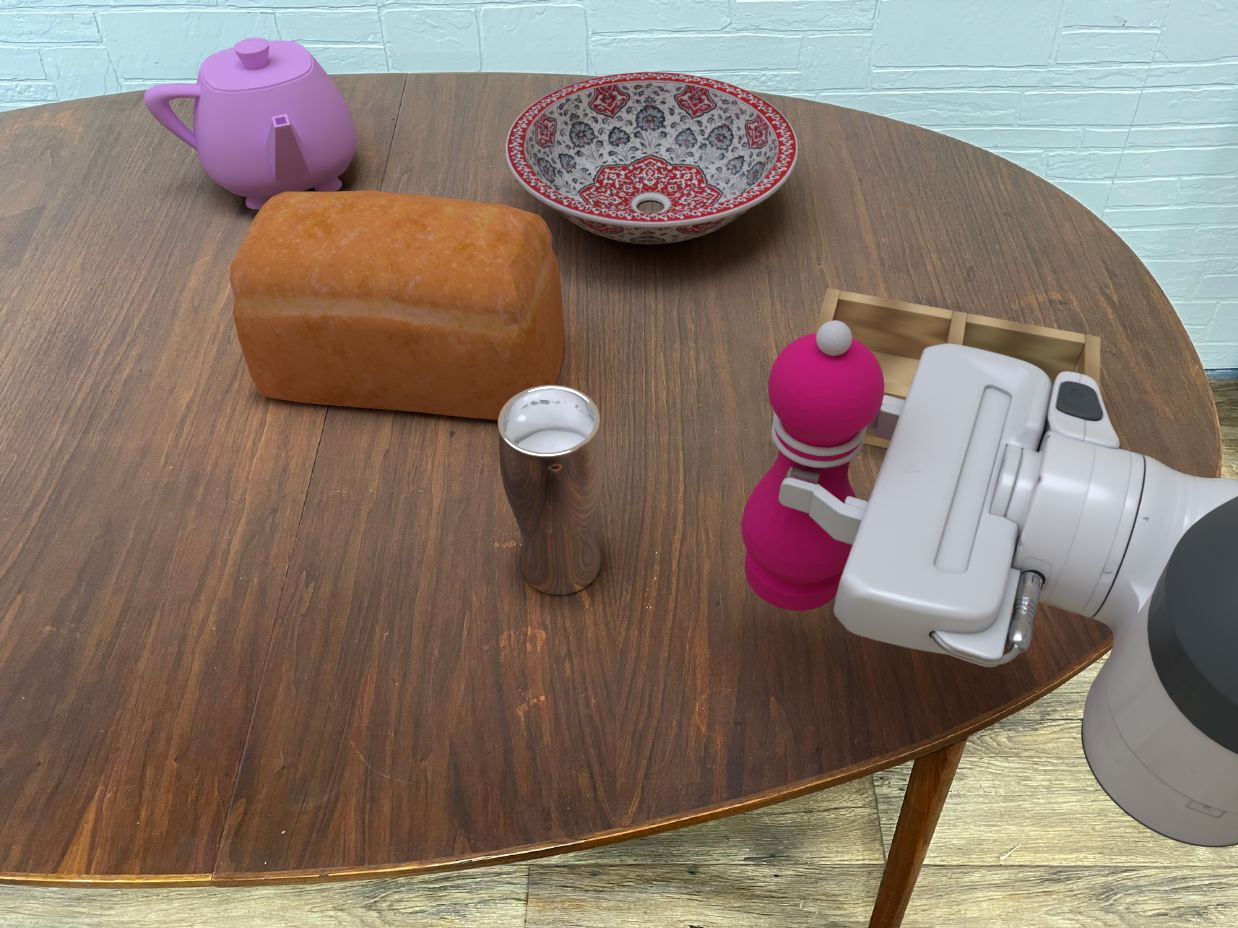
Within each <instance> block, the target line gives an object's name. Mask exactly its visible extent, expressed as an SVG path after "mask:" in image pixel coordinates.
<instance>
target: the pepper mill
mask: <svg viewBox="0 0 1238 928" xmlns="http://www.w3.org/2000/svg"><path fill="white" fill-rule="evenodd" d="M767 394H768V399H769V403H770V405H771V408H772V410H773V411H774V412H773V418H772V421H773V422H772V425H771V437H772V440H773V443H774V445H775V446H776V448H777V449H778V451H777V456H776V459H775V461H774V463H773V465H772V466H771V467H770V469H769V470H768V471H767V472H766V473H765V474H764V475H763V477H762V478H761V479H760V480H759V481H758V482H757V484H756V485H755V487H754V488H753V489H752V491H751V493H750V495H749V497H748V498H747V500H746V504H745V507H744V509H743V514H742V518H741V523H740V529H741V537H742V542H743V545H744V546H745V548H746V550H745V559H744V573H745V579H746V581H747V583H748V584H749V587H750V588H751V590H753V592H754V593H755V594H756V595H757V597H759V598H760V599H761V600H763V601H764V602H765V603H767V604H769V605H771V606H774V607H777V608H779V609H781V610H788V611H793V612H804V611H811V610H816V609H820V608H822V607H823V606H825V605H827V604H829V603H830V602H831V601H833V600H835V599H836V594H837V591H838V587H839V583H840V579H841V576H842V573H843V570H844V568H845V565H846V562H847V559H848V557H849V554H850V551H851V548H852V545H851V544H848V543H844V542H841V541H838V540H835V539H833V538H832V537H831V536H830V535H829V534H828V533H827V532H826V531H825V530H824V529H823V528H822V527H821V526H820V525H819V524H818V523H817V522H816V521H814V520H813V519H812V518H811V517H810V516H809V513H806V512H803V511H800V510H796V509H793V508H790V507H787V506H784V505H782V504H781V503H780V502H779V493H780V486H781V484H782V482H783V479H784V477H785V475H786V473H787V471H788V469H789V468H790V467H792V466H797V467H801V468H802V469H803V470H811V471H815V472H818V473H821V474H820V479H819V485H820V486H821V487H823V488H824V489H825V490H827V491H828V492H829V493H831V494H832V495H833V496H835V497H836V498H837V499H839V500H840V501H841V502H842V503H845V500H846V497H848V496H851V497H854V498H857V495H856V493H855V491H854V489H853V487H852V485H851V482H850V479H849V469H850V463H851V461H852V460H853V459H855V458H856V457H857V456H858V455H859V453H860V452H861V451H862V448H863V446H864V444H863V443H864V436H865V433H866V428H867V426H868V425H869V424H870V423H871V422H872V421H873V419H874V418H875V417H876V415H877V413H878V411H879V410H880V408H881V405H882V401H883V397H884V377H883V372H882V369H881V366H880V364H879V362H878V360H877V358H876V357H875V355H874V354H873V353H872V352H871V351H870V350H869V348H868V347H866V346H865V345H864V344H863V343H861V342H860V341H858V340H856V339H854V338H852V333H851V330H850V328H849V327H848V326H847V325H846V324H845V323H843V322H841V321H837V320H833V321H828V322H826V323H825V324H823V325H822V326H821V327H820V328H819V330H818V332H817V333H814V332H813V333H808V334H805V335H802V336H800V337H797V338H796V339H794V340H792V341H791V342H790V343H788V344H787V345H786V346H785V347H784V348H783V349H782V350H781V351H780V352H779V354H778V356H777V357H776V359H775V360H774V362H773V365H772V367H771V370H770V373H769V376H768V382H767Z"/></svg>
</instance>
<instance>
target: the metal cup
mask: <svg viewBox="0 0 1238 928" xmlns="http://www.w3.org/2000/svg"><path fill="white" fill-rule="evenodd" d="M497 428H498V456H499V457H498V458H499V469H500V474H501V479H502V480H501V481H502V486H503V489H504V493H505V495H506V498H507V501H508V504H509V506H510V509H511V512H512V514H513V517H514V519H515V521H516V524H517V527H518V529H519V532H520V536H521V541H522V543H521V544H522V545H521V550H520V556H519V570H520V573H521V575H522V577H523V579H524V580H525V582H526V583H527V584H528V585H529V586H530V587H531V588H532V589H535V590H536V591H538V592H541V593H543V594H547V595H551V596H552V595H553V596H567V595H571V594H575V593H577V592H579V591H582V590H584V589H585V588H587V587H588V586H590V584H592V583H593V581H594V580H595V579H596V578H597V576H598V575H599V573H600V570H601V567H602V554H601V550H600V546H599V543H598V541H597V537H596V531H595V530H596V522H597V517H598V513H599V508H600V505H601V500H602V496H603V490H604V482H605V449H604V442H603V441H604V440H603V434H602V427H601V415H600V411H599V408H598V406H597V404H596V403H595V402H594V400H592V399H591V398H590V397H589V395H587V394H586V393H584V392H582V391H580V390H579V389H575V388H573V387H571V386H566V385H559V384H556V385H543V386H537V387H533V388H529V389H527V390H524V391H522V392H520V393H518V394H516V395H515V396H513V397H512V398H511V399H510V400H509V401H508V402H507V403H506V404H505V405H504V406H503V408H502V409H501V411H500V414H499V417H498V420H497Z"/></svg>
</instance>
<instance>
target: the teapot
mask: <svg viewBox="0 0 1238 928" xmlns="http://www.w3.org/2000/svg"><path fill="white" fill-rule="evenodd" d="M184 98H185V99H187V98H188V99H193V104H192V131H193V132H192V131H191V129H189V127H187V126H186V125H185V124H184V122H182V121H181V119H180V118H179V117H178V115H176V113H175V112H174V110H173V108H171V105H170V101H172V100H176V99H184ZM143 102H144V103H145V106H146V108H147V110H148V111H149V113H150V114H151V116H152V117H153V118H154V119H155V120H156V121H157V122H158V123H159V124H160V125H161V126H162V127H164V128H165V129H166V130H167V131H169V132H170V133H171V134H173V135H174V136H175V137H177V138H178V139H180V140H181V141H182V142H184V143H185V144H186V145H188V146H189V147H191V148H192V149H194V150H195V151H196V153H197V156H198V160H199V162H200V165H201V166H202V168H203V169H204V171H205V172H206V173H207V175H208V176H209V177H210V178H211V180H213V181H214V182H215V183H216V184H218V185H219V186H220V187H221V188H223V189H224V190H226V191H228V192H229V193H231V194H233V195H236V196H239V197H246V199H245V206H246V207H247V208H249V209H251V210H260V209H261V208H262V206H263V205H264V204H265V203H266V202H267V201H268V200H269V199H270V198H271V197H273V196H276V195H278V194H280V193H282V192H304V191H307V190H310V189H313V190H314V191H315V192H338V191H339V190H340V189H341V188H342V186H343V183H342V180H341V179H339V176H341V175H342V174H343V173H344V172H345V171H346V170H347V169H348V167H349V166H350V164H351V162H352V160H353V158H354V156H355V153H356V150H357V147H358V136H357V130H356V127H355V123H354V122H355V121H354V120H353V117H352V114H351V112H350V110H349V107H348V105H347V103H346V101H345V98H344V96H343V95H342V93H341V92H340V89H339V88H338V87H337V85H336V83H335V82H334V80H332V78H331V77H330V75H329V74H328V72H327V71H326V70H325V69H324V68H323V66H322V65H321V64H320V63H319V62H318V60H317V59H316V58H315V56H314V55H312V54H311V52H310V51H309V50H308V49H307V48H306V47H305V46H304V45H302V44H300V43H299V42H296V41H293V40H283V39H282V40H281V39H280V40H267V39H266V38H262V37H249V38H244V39H242V40H239V41H237V42H236V43H235V44H234V45H233V47H229V48H226V49H225V48H224V49H222V50H219V51H218V52H215V53H213V54H210V55H209V56H207V57H206V58H204V60H203V61H202V63H201V64H200V66H199V71H198V75H197V78H196V83H189V82H186V83H185V82H184V83H183V82H177V83H176V82H174V83H163V84H162V83H161V84H156V85H153V86H150V87H149V88H148V89H146V91H145V92H144V95H143Z"/></svg>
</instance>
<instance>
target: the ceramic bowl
mask: <svg viewBox="0 0 1238 928" xmlns="http://www.w3.org/2000/svg"><path fill="white" fill-rule="evenodd" d="M504 150H505V151H504V152H505V158H506V163H507V166H508V168H509V171H510V173H511V175H512V176H513V177H514V179H515V181H516V182H517V183H518V184H519V185H520V187H522V188H523V189H524V190H525V191H526V192H527V193H528V194H529V195H531V196H533V198H535V199H537V200H538V201H539V202H542V203H543V204H545V205H546V206H549V208H550V207H551V208H552V209H553V210H554V211H555V212H556V213H558V214H559V215H560V216H562V217H563V218H564V219H566V220H568V222H570V223H572V224H574V225H575V226H577V227H579V228H581V229H583V230H585V231H587V232H589V233H592V234H594V235H597V236H599V237H602V238H605V239H609V240H613V241H617V242H622V243H628V244H638V245H664V244H665V245H666V244H674V243H679V242H685V241H689V240H693V239H697V238H700V237H703V236H707V235H708V234H711V233H713V232H715V231H718V230H720V229H722V228H723V227H726V226H727V225H729V224H730V223H732V222H734V221H735V220H737V219H738V218H739V217H741V216H742V215H743V214H745V213H746V212H748V210H749V209H751V208H753V207H755V206H757V205H759V204H761V203H762V202H764V201H766V200H767V199H769V198H770V197H771V196H773V195H774V194H775V193H776V192H777V191H779V189H781V187H782V186H784V184H785V183H786V182H787V180H788V179H789V178H790V177H791V175H792V173H793V171H794V170H795V166H796V164H797V161H798V157H799V144H798V138H797V135H796V133H795V130H794V128H793V127H792V125H791V122H790V121H789V120H788V119H787V118H786V116H784V114H783V113H782V112H781V111H780V110H779V109H778V108H777V107H775V106H774V105H772V104H771V103H770V102H768V101H767V100H765V99H764V98H762V97H761V96H759V95H757V94H755V93H753V92H751V91H749V90H747V89H744V88H742V87H740V86H736V85H734V84H731V83H729V82H725V81H722V80H719V79H715V78H710V77H706V76H699V75H694V74H687V73H678V72H662V71H640V72H638V71H637V72H624V73H616V74H609V75H602V76H597V77H593V78H588V79H585V80H581V81H578V82H575V83H571V84H568V85H566V86H563V87H560V88H558V89H556V90H554V91H552V92H550V93H548V94H546V95H544V96H543V97H541V98H539V99H538V100H536V101H534V102H533V103H532V104H530V105H529V106H528V107H526V108H525V110H523V111H522V112H521V113H520V114H519V116H517V117H516V119H515V121H514V122H513V123H512V125H511V127H510V128H509V130H508V133H507V136H506V140H505V146H504ZM647 201H653V202H654V201H655V202H658V203H661V204H662V205H663V209H662V210H660V211H658V212H643V211H641V210H639V209H638V208H637V207H638V205H639V204H640V203H643V202H647Z"/></svg>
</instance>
